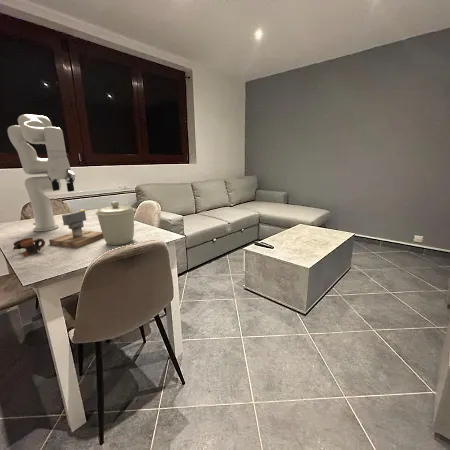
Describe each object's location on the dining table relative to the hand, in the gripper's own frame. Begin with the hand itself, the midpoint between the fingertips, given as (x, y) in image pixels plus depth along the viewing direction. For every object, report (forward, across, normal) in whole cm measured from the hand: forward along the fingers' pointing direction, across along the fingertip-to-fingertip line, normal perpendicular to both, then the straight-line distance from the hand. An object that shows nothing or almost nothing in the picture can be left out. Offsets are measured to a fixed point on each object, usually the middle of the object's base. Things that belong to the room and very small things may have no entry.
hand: (63, 190), depth 123 cm
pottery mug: (+27, -4, -18) cm, 33 cm away
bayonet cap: (+19, +2, +1) cm, 19 cm away
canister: (+26, +26, +6) cm, 37 cm away
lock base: (+26, +3, +1) cm, 26 cm away
